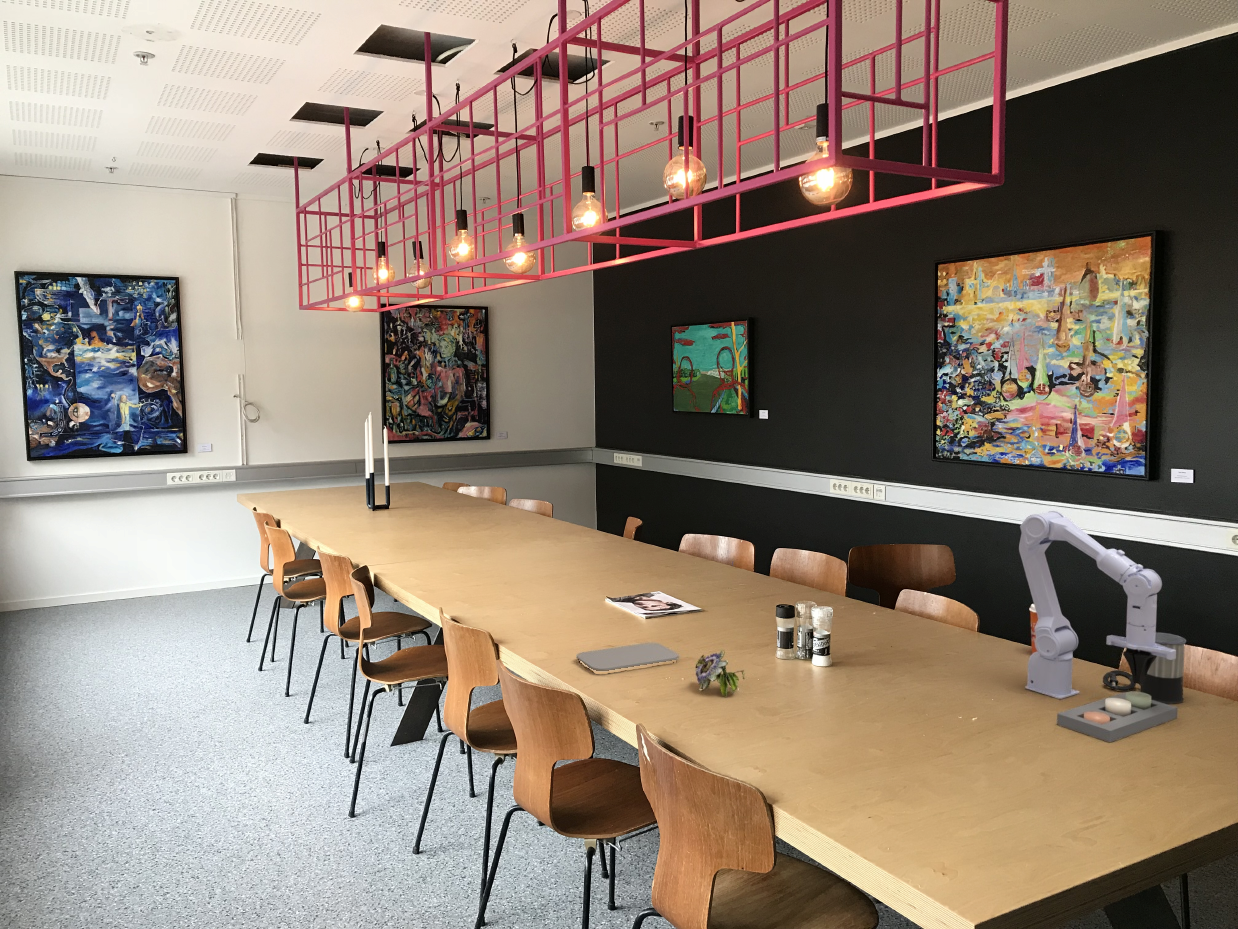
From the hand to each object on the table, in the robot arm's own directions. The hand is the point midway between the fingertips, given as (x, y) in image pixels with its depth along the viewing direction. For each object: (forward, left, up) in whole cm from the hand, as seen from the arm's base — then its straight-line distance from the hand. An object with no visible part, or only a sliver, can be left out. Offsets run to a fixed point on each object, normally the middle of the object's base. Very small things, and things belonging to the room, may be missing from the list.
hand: (1138, 682), depth 204 cm
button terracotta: (0, -16, -7) cm, 18 cm away
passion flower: (-65, -70, -8) cm, 96 cm away
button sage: (0, 0, -6) cm, 6 cm away
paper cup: (-39, +23, -8) cm, 46 cm away
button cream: (0, -8, -6) cm, 10 cm away
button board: (0, -8, -7) cm, 11 cm away
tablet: (-97, -77, -8) cm, 124 cm away
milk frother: (-7, +15, -8) cm, 18 cm away
